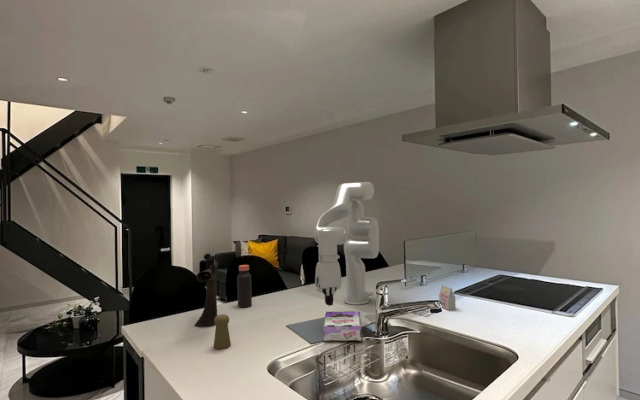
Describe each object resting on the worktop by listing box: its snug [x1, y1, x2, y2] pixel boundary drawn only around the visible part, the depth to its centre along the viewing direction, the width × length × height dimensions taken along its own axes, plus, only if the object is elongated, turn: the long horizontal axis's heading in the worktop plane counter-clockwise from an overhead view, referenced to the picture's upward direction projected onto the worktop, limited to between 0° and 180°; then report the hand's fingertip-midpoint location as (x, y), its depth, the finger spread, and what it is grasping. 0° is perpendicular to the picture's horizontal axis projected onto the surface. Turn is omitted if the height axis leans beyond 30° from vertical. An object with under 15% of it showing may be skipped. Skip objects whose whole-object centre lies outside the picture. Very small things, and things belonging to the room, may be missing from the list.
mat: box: [285, 316, 325, 345], centre depth 139 cm, size 18×22×1 cm
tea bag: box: [438, 285, 456, 312], centre depth 163 cm, size 4×7×10 cm, turn 16°
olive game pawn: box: [213, 314, 232, 351], centre depth 126 cm, size 6×6×11 cm
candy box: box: [323, 310, 362, 342], centre depth 134 cm, size 14×6×16 cm
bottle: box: [236, 264, 253, 309], centre depth 175 cm, size 7×7×20 cm
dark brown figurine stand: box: [194, 252, 218, 328], centre depth 149 cm, size 31×10×30 cm, turn 11°
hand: (329, 304), depth 142 cm, fingers closed
